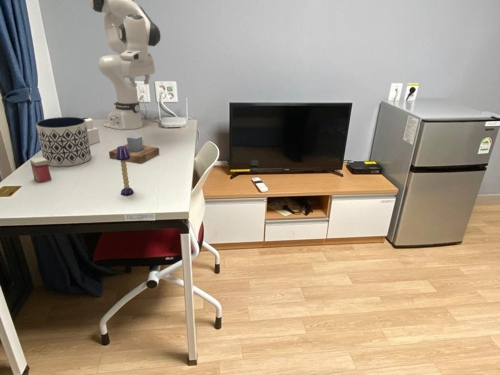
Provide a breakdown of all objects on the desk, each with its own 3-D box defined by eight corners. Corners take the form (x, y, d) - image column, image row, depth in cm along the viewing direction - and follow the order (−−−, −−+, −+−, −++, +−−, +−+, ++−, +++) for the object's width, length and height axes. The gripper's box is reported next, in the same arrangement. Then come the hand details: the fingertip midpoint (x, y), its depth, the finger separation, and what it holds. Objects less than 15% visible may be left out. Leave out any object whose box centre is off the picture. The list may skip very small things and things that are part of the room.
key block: (138, 156, 153) (136, 138, 149) (128, 154, 154) (126, 137, 151) (144, 153, 157) (143, 136, 154) (135, 151, 158) (133, 134, 155)
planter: (44, 155, 150) (36, 118, 144) (89, 151, 158) (84, 115, 152) (43, 169, 136) (34, 129, 129) (93, 164, 144) (87, 125, 137)
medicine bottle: (77, 143, 168) (73, 119, 163) (89, 139, 174) (85, 116, 169) (89, 145, 166) (85, 120, 161) (100, 141, 172) (96, 118, 167)
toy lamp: (117, 193, 119) (111, 147, 113) (128, 188, 123) (123, 143, 116) (126, 196, 117) (120, 150, 110) (137, 192, 121) (132, 146, 114)
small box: (33, 179, 127) (29, 159, 124) (46, 176, 130) (42, 156, 127) (39, 183, 125) (34, 162, 121) (51, 179, 128) (47, 159, 124)
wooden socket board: (109, 158, 151) (108, 151, 150) (130, 149, 163) (129, 143, 162) (140, 163, 146) (140, 157, 145) (159, 154, 158) (158, 147, 157)
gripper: (145, 52, 166) (147, 82, 172) (117, 55, 148) (120, 87, 154) (157, 53, 164) (158, 83, 170) (129, 56, 147) (132, 89, 153)
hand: (140, 85), depth 162 cm, fingers open, 8 cm apart
